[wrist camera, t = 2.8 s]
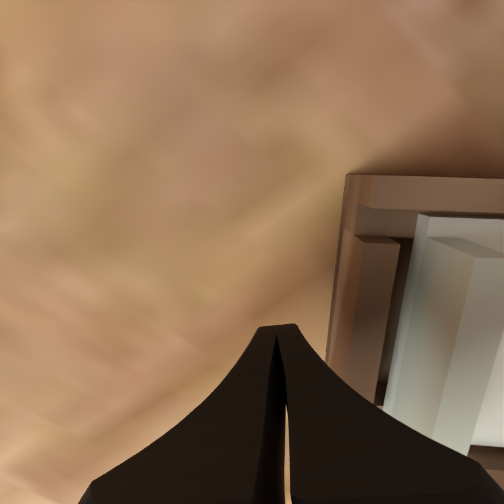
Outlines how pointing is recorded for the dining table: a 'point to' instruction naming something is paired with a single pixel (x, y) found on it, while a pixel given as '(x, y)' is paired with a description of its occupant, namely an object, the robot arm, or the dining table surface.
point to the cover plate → (452, 333)
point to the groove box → (391, 274)
